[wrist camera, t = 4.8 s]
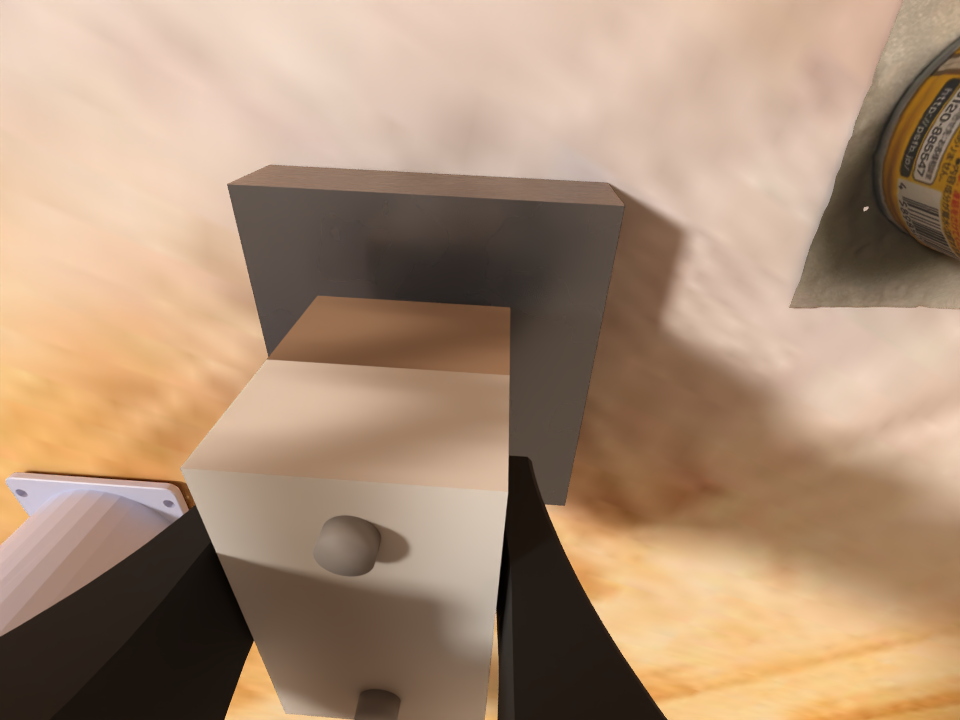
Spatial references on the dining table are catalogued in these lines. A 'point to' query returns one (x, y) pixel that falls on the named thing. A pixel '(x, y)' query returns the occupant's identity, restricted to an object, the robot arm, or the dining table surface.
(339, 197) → the stand
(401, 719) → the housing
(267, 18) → the dining table surface
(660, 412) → the dining table surface
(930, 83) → the condiment
